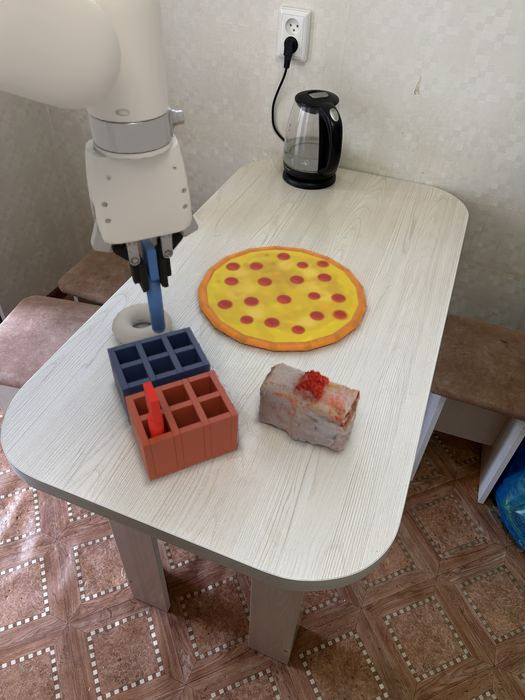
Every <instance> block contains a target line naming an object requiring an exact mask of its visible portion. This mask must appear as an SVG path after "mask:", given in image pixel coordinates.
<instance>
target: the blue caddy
mask: <svg viewBox="0 0 525 700" xmlns="http://www.w3.org/2000/svg"><path fill="white" fill-rule="evenodd" d="M107 355H108V358H109V363H110V368H111V373H112V376H113V380H114V384H115V388H116V390H117V394H118V395H119V399H120V402H121V404H122V407H123V410H124V412H125V415H126V419H127V421H128V424H129V426H130V427H131V423H130V419H129V414H128V410H127V405H126V401H125V397H126V396H129V395H132V394H136V393H139V392H142V391H144V388H143V383H147V382H150V381H151V383H152V385H153V388H156V387H159V386H162V385H165V384H169V383H172V382H175V381H179V380H182V379H185V378H187V379H188V378H189V377H192V376H196V375H199V374H202V373H205V372H208V371H211V363H210V361H209V359H208V358H207V355H206V354H205V352H204V350H203V348H202V346H201V345H200V343H199V341H198V339H197V337H196V335H195V334H194V332H193V330H192V328H191V327H190V326H187V327H184V328H179V329H176V330H171V331H170V332H168V333H164V334H160V335H157V336H153V337H149V338H145V339H142V340H138V341H135V342H130V343H127V344H120V345H119V344H118V345H115V346H113V347H109V348H107Z"/></svg>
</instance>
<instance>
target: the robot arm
mask: <svg viewBox="0 0 525 700" xmlns="http://www.w3.org/2000/svg"><path fill="white" fill-rule="evenodd" d="M162 20H163V19H162V7H161V0H0V92H5V93H8V94H11V95H14V96H18V97H21V98H24V99H28V100H31V101H33V102H37V103H40V104H43V105H46V106H51V107H53V108H57V109H62V110H82V109H86V112H87V117H88V121H89V127H90V128H89V129H90V132H91V137H92V139H89V140H88V141H86V142H85V147H84V149H85V150H84V161H85V175H86V183H87V190H88V196H89V202H90V203H89V204H90V208H91V214H92V218H93V222H94V224H93V229H92V232H91V233H92V234H91V238H90V244H91V247H92V249H93V250H94V251H95V252H99V253H100V252H101V253H109V254H110V253H113V254H115V255H116V256H118V257H120V258H121V259H123V260H125V261H127V262H129V268H130V274H131V278H132V281H133V284H134V285H138V284H139V287H140V289H141V290H142V292H143V294H145V293H147V292H148V290H149V284H148V277H147V270H146V265H145V263H144V261H143V259H142V254H141V253H140V249H139V245H138V241H140V240H143V239H148V238H149V239H153V238H154V239H155V244H156V245H155V246H154V248H155V250H156V257H157V265H158V273H159V277H160V284H161V288H164V289H166V288H169V287H170V284H169V277H172V276H173V275H172V265H171V258H172V257H173V255H174V251H175V249H176V248H177V246H179V244H180V243H181V242H182V241H183V239H184V238H186V237H188V236H190V235H191V234H193V233H195V232H196V231H198V230H199V224H198V223H197V220H196V218H195V217H194V215H193V213H192V212H193V211H192V203H191V201H192V200H191V194H190V188H189V182H188V178H187V171H186V167H185V166H186V165H185V161H184V158H183V154H182V150H181V146H180V143H179V140H178V138H177V137H176V134H174V131H175V128H176V127H178V126H183V125H185V115H184V112H183V110H182V109H175V108H173V109H172V108H171V107H170V104H169V103H170V102H169V91H168V80H167V68H166V56H165V46H164V45H165V43H164V32H163V21H162Z"/></svg>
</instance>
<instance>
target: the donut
mask: <svg viewBox="0 0 525 700" xmlns="http://www.w3.org/2000/svg"><path fill="white" fill-rule="evenodd" d="M164 316H165V325H166V328H165V331H164V332H162V333H160V334H164V333H168V332H172V322H173V321H172V319H171V316H170V314H169V313H168V312H167V311H166V310H165V309H164ZM142 323H149V324H150V325H149V326H146V327H141V328H140V327H134V326H135V325H138V324H142ZM111 330H112V334H113V336H114V338H115V339H116V340H117V342H119V343H120V344H121V345H123V344H127V343H130V342H135V341H138V340H142V339H145V338H149V337H153V336H157V335H160V334H158V333H155V332H154V331H153V330H152V325H151V319H150V312H149V305H148V302H147V303H136V304H135V303H134V304H132V305H129V306H127V307H124V308H123V309H121V310H120V311H119V312H118V313H116V315H115V317H114V318H113V320H112V325H111Z"/></svg>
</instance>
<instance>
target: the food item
mask: <svg viewBox="0 0 525 700" xmlns="http://www.w3.org/2000/svg"><path fill="white" fill-rule="evenodd" d="M259 390H260V391H259V411H258V412H259V413H258V422H261V423H265V424H269V425H273V426H274V427H275V428H279V429H281V430H283V431H286V432H287V433H288V434H289V437H290V438H292V439H293V440H294V441H295V442H296V441H299V442H302V443H306V442H308V443H310V444H311V445H321V446H324V447H326V448H329V449H330V450H331V451H334V450H335V451H336V452H337V453H339V452H341V451H343V450H344V447H345V446H346V444H347V441H348V440H349V439H350V437H351V434H352V430H353V427H354V424H355V420H356V417H357V411H358V410H357V409H358V405H359V402H360V399H361V392H360V391H361V390H358V389H355V388H350V387H349V386H346V385H344V384H340V383H338V382H334V381H331V380H330V378H329V377H327V375H323V374H321V372H320V371H317V370H315V369H310V370H307V371H303V370H302V369H298V368H296V367H293V366H291V365H288V364H286V363H284V362H281V363H277V364H275V365H273V366H271V367H270V371H269V372H268V373H267V374H266V376H265V378H264V380H263V381H262V384H261V385H260V388H259Z"/></svg>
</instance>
